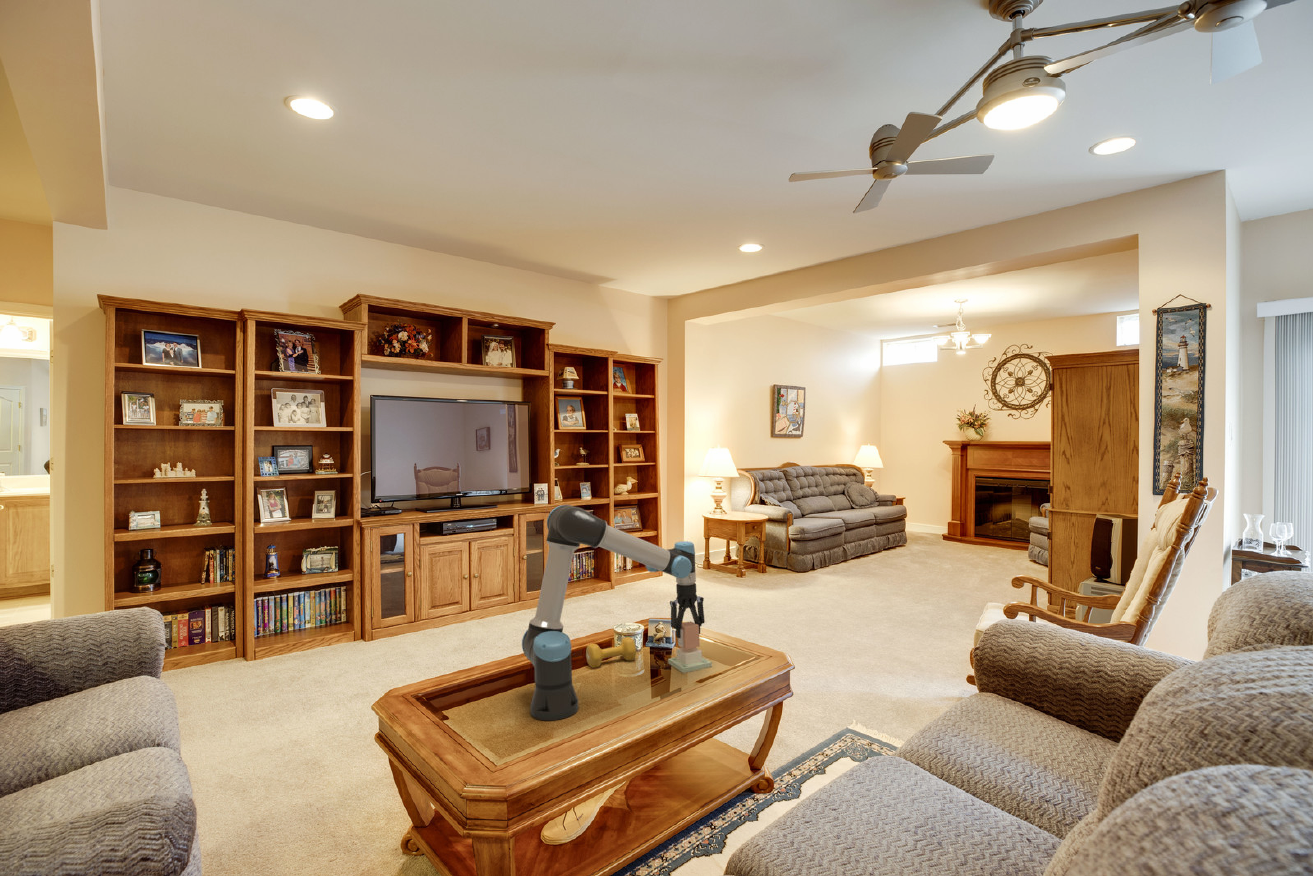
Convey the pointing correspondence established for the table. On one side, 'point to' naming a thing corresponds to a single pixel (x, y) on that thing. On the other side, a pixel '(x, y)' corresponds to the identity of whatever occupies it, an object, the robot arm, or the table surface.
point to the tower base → (690, 667)
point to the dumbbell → (610, 652)
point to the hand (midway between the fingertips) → (688, 644)
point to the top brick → (690, 635)
